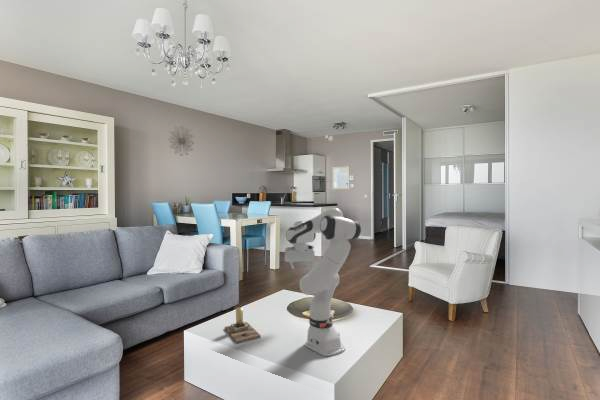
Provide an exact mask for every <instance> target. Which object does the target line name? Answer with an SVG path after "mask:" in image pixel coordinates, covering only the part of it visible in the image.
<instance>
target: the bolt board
mask: <svg viewBox="0 0 600 400" xmlns="http://www.w3.org/2000/svg"><path fill="white" fill-rule="evenodd" d="M224 330H225V331H226V333H227V334H228V335H229V337H231V339H232V340H233V341H234V342H235V343H236V344H241V343H244V342H245V343H246V342H248V341H252V340H256V339H260V338H261V334H260V333H259V332H258V331H257V330H256V329H255V328H254V327H253V326H252V325H250V324H249V323H248V322H247V321H243V327H239V328H236V322H235V323H231V324H230V325H227V326H226V325H225V326H224Z"/></svg>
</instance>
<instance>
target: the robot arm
mask: <svg viewBox="0 0 600 400" xmlns="http://www.w3.org/2000/svg"><path fill="white" fill-rule="evenodd" d="M361 232H362V227H361V224H360V223H359V222H358V221H356V220H354V219H351V218H346V217H344V213H343V211H342V210H341V209H339V208H337V207H332V208H329V209H326V210H324V211H323V212H321V213H320V214H318V215H316V216H315V217H313V218H310V219H308V220H307V221H303V220H300V221H296V222H293V226H290V227H289V228H288V230H287V231H286V234H285V238H286V240H287V241H288V243H290V244H291V245H292V246H289V247H288V246H287V247H286V248H285V249H284V261H285V262H286V263H289V265H290V266H291V270H295V268H296V267H295V266H296V265H294V263H295V262H306V263H305V264H304V268H305V269H308V268H309V264H310V261H314V260H315V259H316V257H315V255H316V254H315V250H314V245H312V244H308V243H312V242H314V240H315V239H316V235H317V234H319V233H320V234H322V235H323V236H324V237H325V239H326V240H327V241H328V240H330V243H329V244H328V246H327V248H326V250H325V252H324V253H323V254H322V257H321V258H320V260H319V261H317V264H315V266H314V267H312V269H311V270H310V271H308V273H306V274H305V275H303V276H302V277H301V278H300V279H299V289H300V291H301V292H302V293H303V294H304V295H306V296H308V295H311V296H312V295H313V298H312V299H311V300H310V304H309V318H308V321H309V322H308V323H309V327H308V329H307V336H306V342H305V345H304V346H305V347H306V348H308V349H310V350H311V351H314V352H316V353H317V354H319V355H321V356H324V357H331V356H336V355H338V354H342V353H343V352H344V351H346V347H345V345H344V344H343V343H342V342H341V337H340V334H341V333H340V332H337V330H336V328H335V327H334V321H333V320H332V316H331V304H332V299H333V295H334V292H335V289H336V288H337V286H338V285H339V284H340V279H341V278H340V275H339V272H340V270H341V269H342V267H343V265H344V263H345V262H346V260H347V258H348V256H349V253H350V251H351V248H352V246H351V242H350V241H354V240H357V239H358V238H359V237H360V235H361Z"/></svg>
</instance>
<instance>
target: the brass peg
mask: <svg viewBox="0 0 600 400" xmlns="http://www.w3.org/2000/svg"><path fill="white" fill-rule="evenodd" d="M243 308H244V307H241V306H240V307H236V308H235V323H236V328H239V327H243V322H244V312H243V311H244V310H243Z"/></svg>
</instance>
